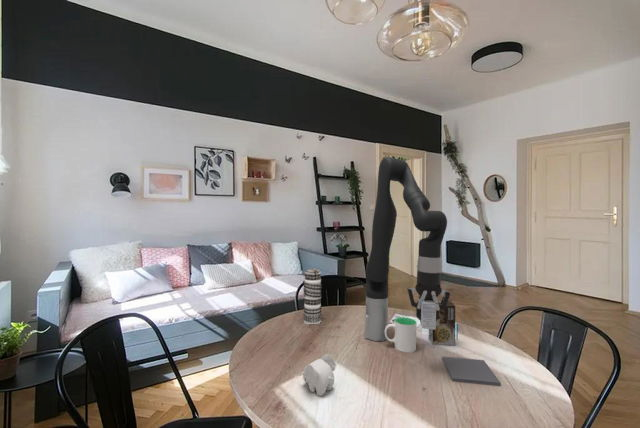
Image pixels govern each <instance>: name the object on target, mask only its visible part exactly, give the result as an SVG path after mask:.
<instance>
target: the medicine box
mask: <svg viewBox="0 0 640 428" xmlns="http://www.w3.org/2000/svg"><path fill="white" fill-rule="evenodd" d="M419 322H420V323H419V324H420V326H421V329H426V330H429V329H433V330H435V329H436V303H435V302H434V301H432V300H424V301H422V303H421V320H419Z"/></svg>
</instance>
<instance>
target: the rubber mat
mask: <svg viewBox="0 0 640 428" xmlns="http://www.w3.org/2000/svg"><path fill="white" fill-rule="evenodd" d="M441 360H442V363H443V364H444V366H445V369H446V371H447V373H448V375H449V377H450V379H451V382H455V383H456V382H458V383H464V384H465V383H466V384H477V385H488V386H495V387H496V386H497V387H500V386H502V384H501V383H502V382H501V381H500V379H498V377H497V375H495V373H494V372H493V370H492V369H491V367H490V366H489V365H488V364H487V362H486V361H485V360H484V359H474V358H465V357H451V356H450V357H449V356H441Z"/></svg>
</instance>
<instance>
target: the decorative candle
mask: <svg viewBox="0 0 640 428" xmlns="http://www.w3.org/2000/svg"><path fill="white" fill-rule="evenodd" d="M321 274H322V271H320V269H318V268H314V267H312V268H308V269H306V271H304V280H303V281H302V282H303V284H302V286H303V299H304V302H303V303H304V306H303V309H304V310H303V312H304V313H303V323H304V324H306V325H309V324H316V325H319V324H321V323H322V308H323V307H322V303H321V298H322V297H323V296H322V293H323V291H322V290H323V283H321V282H322V278H321V276H322V275H321ZM320 322H321V323H320Z"/></svg>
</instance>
